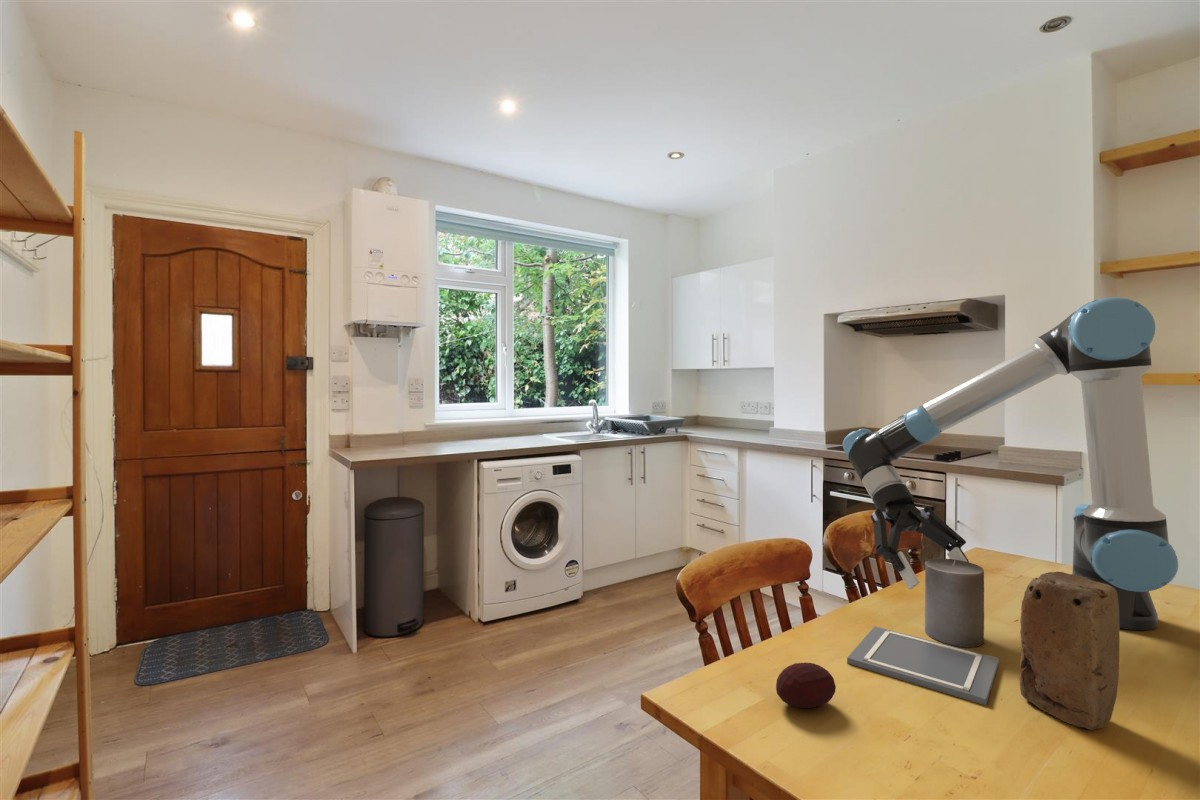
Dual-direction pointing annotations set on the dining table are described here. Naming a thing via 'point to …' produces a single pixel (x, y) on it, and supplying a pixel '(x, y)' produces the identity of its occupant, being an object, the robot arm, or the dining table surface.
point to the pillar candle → (954, 602)
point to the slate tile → (927, 664)
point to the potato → (805, 685)
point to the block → (1070, 648)
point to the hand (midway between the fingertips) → (943, 583)
